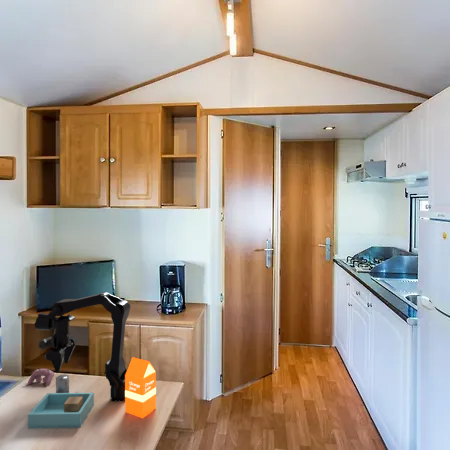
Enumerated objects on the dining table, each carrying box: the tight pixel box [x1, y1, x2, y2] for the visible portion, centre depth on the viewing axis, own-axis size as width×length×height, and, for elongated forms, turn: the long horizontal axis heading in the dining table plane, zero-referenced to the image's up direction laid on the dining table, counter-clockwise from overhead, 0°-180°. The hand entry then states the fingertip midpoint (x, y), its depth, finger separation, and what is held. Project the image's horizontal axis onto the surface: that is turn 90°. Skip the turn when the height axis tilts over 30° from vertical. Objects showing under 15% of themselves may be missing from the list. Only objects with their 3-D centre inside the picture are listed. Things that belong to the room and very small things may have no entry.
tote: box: [27, 392, 95, 429], centre depth 135 cm, size 18×15×5 cm
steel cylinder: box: [55, 374, 70, 393], centre depth 152 cm, size 5×5×7 cm
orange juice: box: [124, 356, 157, 419], centre depth 139 cm, size 8×9×20 cm
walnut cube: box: [64, 397, 83, 412], centre depth 135 cm, size 5×5×5 cm
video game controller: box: [27, 368, 55, 387], centre depth 161 cm, size 10×5×7 cm, turn 85°
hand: (61, 367), depth 151 cm, fingers open, 9 cm apart
